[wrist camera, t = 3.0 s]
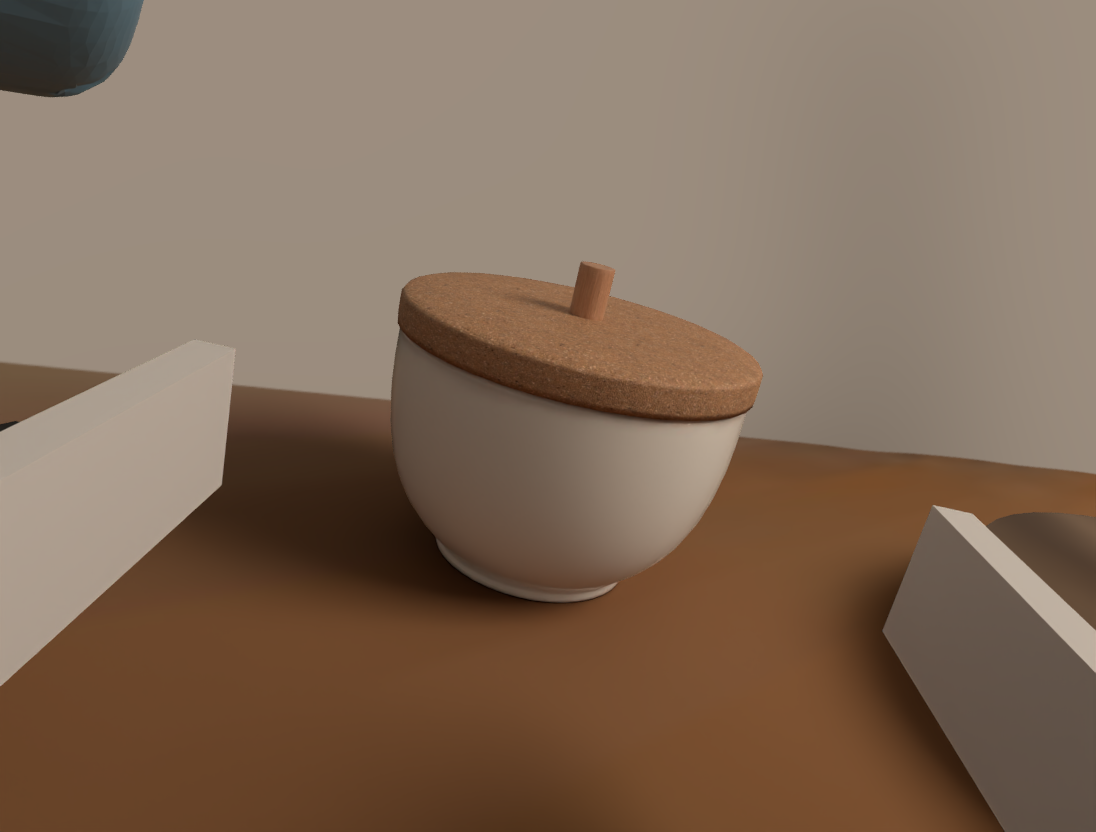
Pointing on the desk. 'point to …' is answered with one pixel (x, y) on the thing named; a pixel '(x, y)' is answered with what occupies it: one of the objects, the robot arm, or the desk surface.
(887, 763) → the desk surface
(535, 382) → the lidded jar
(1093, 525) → the turntable
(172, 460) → the robot arm
